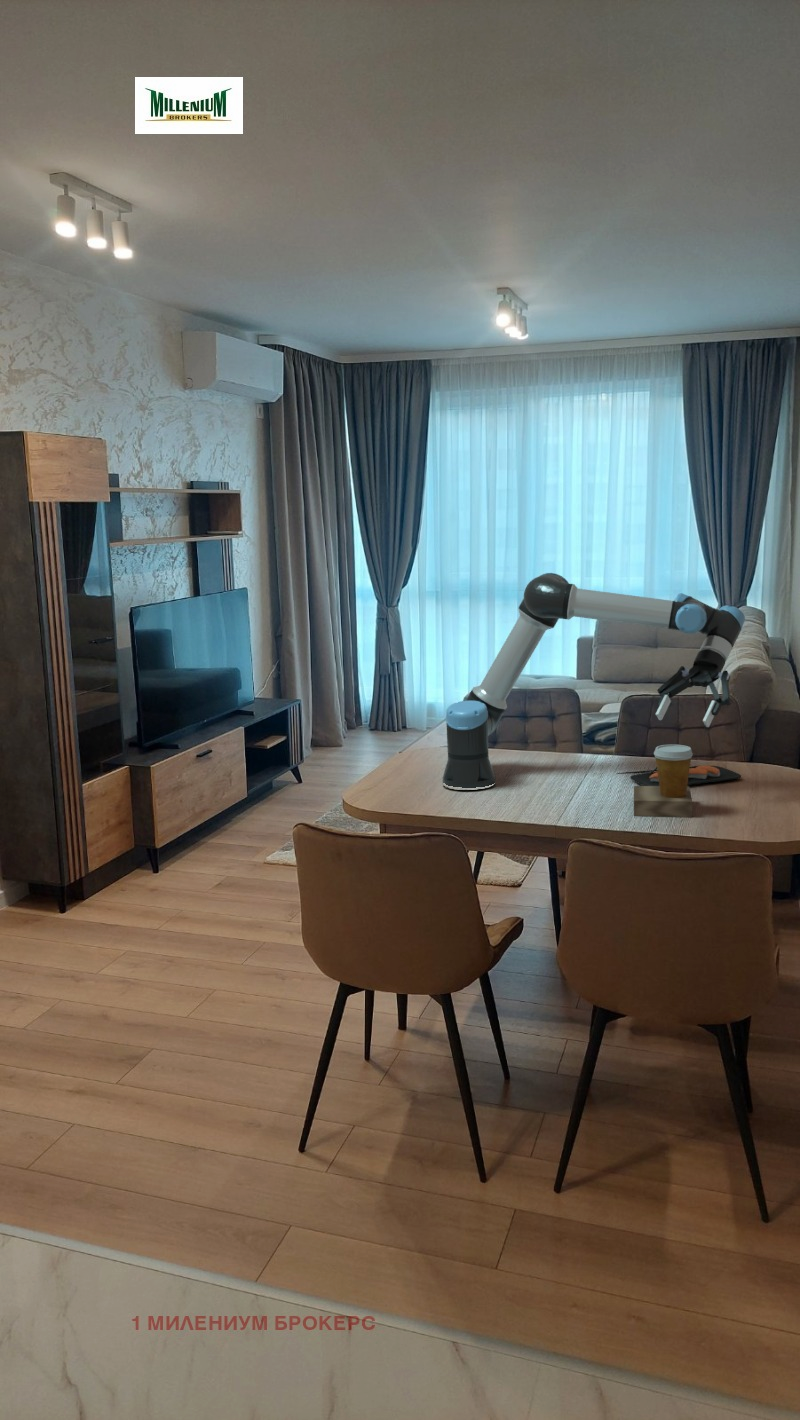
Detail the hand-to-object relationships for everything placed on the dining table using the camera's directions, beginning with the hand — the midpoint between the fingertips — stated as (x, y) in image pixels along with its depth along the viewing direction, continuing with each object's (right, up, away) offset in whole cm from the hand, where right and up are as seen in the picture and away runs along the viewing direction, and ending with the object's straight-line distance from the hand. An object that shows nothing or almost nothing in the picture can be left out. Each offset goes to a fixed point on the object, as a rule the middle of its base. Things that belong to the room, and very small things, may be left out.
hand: (681, 720), depth 257 cm
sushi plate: (+5, -16, +28) cm, 33 cm away
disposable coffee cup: (-4, -19, -7) cm, 21 cm away
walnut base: (-6, -22, -5) cm, 24 cm away
